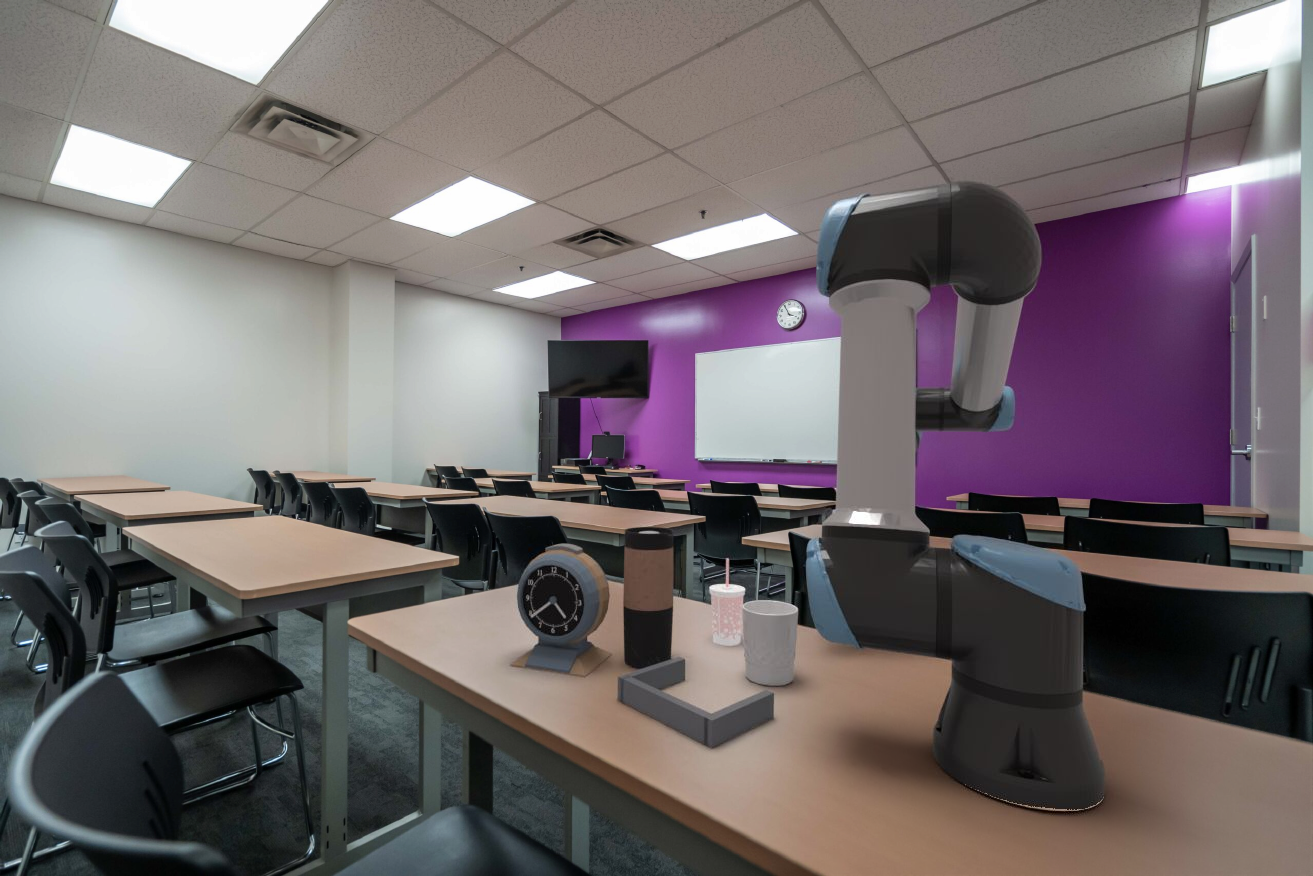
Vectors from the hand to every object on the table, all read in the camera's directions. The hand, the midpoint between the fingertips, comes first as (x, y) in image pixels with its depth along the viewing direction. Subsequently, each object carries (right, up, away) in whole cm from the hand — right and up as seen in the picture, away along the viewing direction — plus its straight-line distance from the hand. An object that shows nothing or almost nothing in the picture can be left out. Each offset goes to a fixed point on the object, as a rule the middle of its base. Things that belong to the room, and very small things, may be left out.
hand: (823, 593), depth 96 cm
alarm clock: (-41, -9, -5) cm, 42 cm away
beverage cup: (-15, -10, +5) cm, 19 cm away
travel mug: (-28, -9, -5) cm, 30 cm away
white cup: (-11, -9, -10) cm, 18 cm away
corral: (-22, -9, -21) cm, 32 cm away
